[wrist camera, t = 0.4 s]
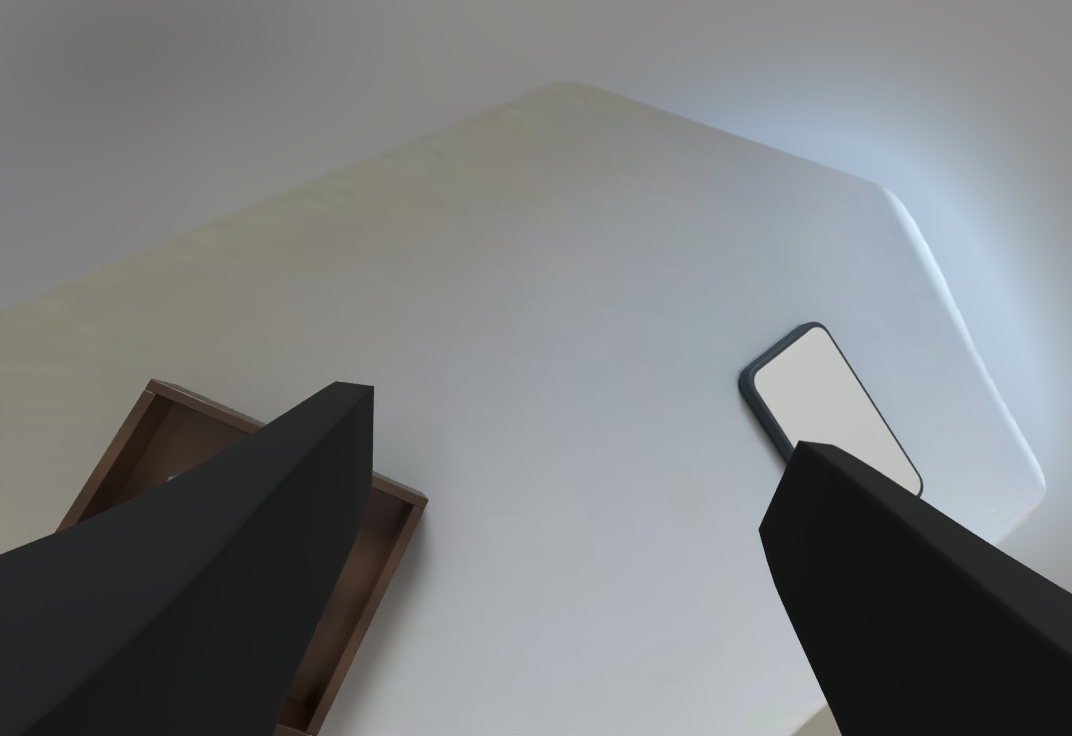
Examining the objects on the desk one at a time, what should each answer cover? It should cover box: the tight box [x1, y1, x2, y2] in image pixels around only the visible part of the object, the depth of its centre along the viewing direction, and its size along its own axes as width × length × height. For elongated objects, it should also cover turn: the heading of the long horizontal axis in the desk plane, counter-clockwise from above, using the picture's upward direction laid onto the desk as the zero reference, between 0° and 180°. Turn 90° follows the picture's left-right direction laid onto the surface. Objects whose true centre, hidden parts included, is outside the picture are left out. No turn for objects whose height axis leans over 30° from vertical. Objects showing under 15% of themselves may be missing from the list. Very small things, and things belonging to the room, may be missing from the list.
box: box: [55, 379, 428, 736], centre depth 29 cm, size 13×15×4 cm
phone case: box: [739, 322, 923, 498], centre depth 42 cm, size 9×2×16 cm
